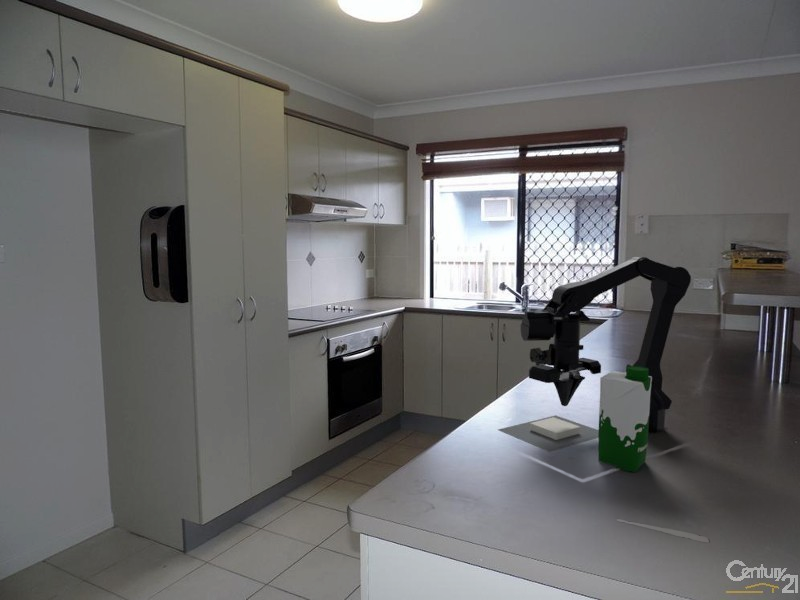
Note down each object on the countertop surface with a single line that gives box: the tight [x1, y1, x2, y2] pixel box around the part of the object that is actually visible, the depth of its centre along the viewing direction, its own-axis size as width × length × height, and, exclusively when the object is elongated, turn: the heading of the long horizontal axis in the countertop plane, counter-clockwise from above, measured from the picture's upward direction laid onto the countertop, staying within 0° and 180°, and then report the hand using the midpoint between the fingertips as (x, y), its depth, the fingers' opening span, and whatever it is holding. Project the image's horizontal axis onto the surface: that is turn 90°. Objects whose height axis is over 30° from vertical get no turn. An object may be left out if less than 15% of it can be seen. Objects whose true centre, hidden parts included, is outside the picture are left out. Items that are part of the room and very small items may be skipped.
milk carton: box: [597, 365, 652, 473], centre depth 111 cm, size 9×9×20 cm
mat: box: [497, 415, 599, 453], centre depth 128 cm, size 16×20×1 cm
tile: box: [530, 417, 580, 440], centre depth 128 cm, size 8×2×8 cm
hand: (564, 405), depth 129 cm, fingers closed
